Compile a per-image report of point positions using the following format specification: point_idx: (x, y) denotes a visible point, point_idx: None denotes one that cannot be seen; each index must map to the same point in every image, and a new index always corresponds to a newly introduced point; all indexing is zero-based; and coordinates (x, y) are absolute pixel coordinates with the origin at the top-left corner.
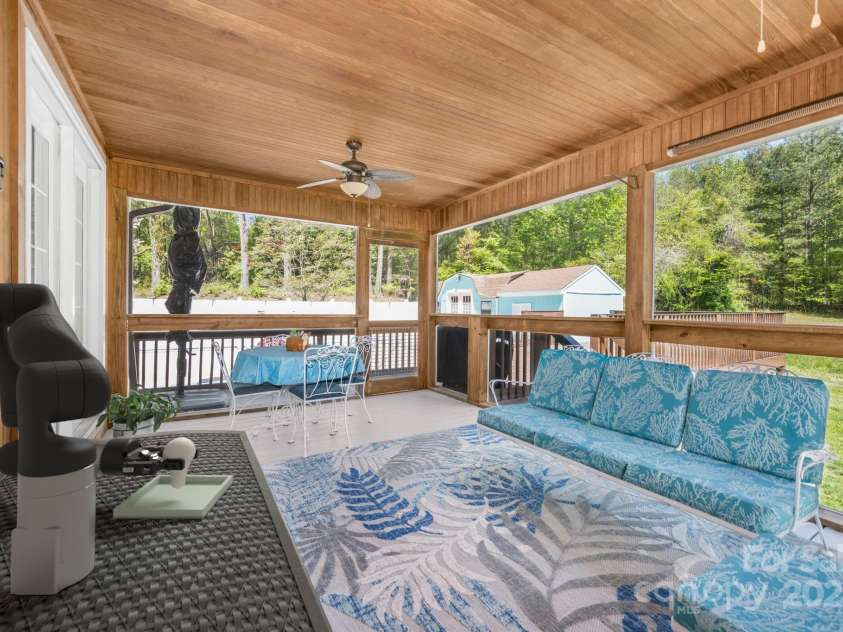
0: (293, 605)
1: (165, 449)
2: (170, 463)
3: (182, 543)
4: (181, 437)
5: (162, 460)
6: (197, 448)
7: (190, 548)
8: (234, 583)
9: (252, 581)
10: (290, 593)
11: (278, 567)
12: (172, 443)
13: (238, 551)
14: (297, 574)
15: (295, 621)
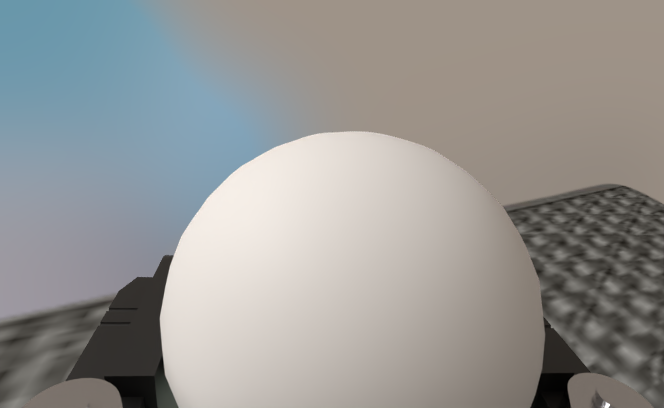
0: (618, 195)
1: (533, 327)
2: (554, 338)
3: (642, 365)
4: (306, 147)
5: (615, 384)
6: (170, 256)
7: (640, 337)
8: (648, 243)
9: (620, 228)
10: (601, 198)
11: (561, 211)
12: (489, 202)
13: (566, 256)
14: (558, 196)
15: (639, 193)
